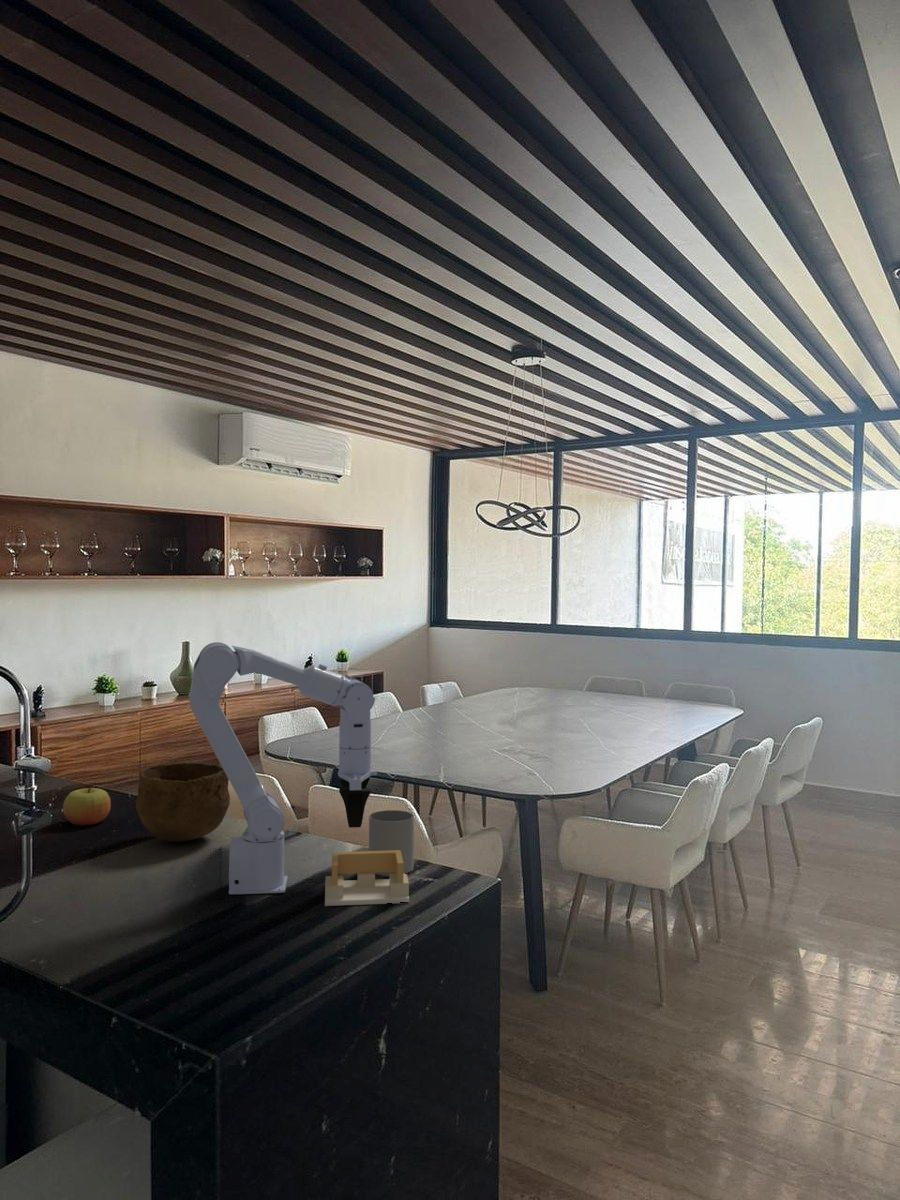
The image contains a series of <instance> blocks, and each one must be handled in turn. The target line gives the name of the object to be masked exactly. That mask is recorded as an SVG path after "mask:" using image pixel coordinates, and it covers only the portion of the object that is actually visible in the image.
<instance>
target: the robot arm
mask: <svg viewBox="0 0 900 1200" xmlns="http://www.w3.org/2000/svg"><path fill="white" fill-rule="evenodd" d="M231 647H232V648H233V649H234V650H233V649H232V648H231ZM231 647H230V646H229V645H227V644H226V643H223V642H217V641H215V642H211V643H209V644H208V643H207V645H205V646H204V647H203V648H202V649H201V650H200V652H199V654H198V655H197V658H196V660H195V662H194V663H193V670H192V678H191V683H190V684H191V685H190V691H189V696H188V697H189V699H188V703H189V707H190V709H191V711H192V714H193V715H194V717H195V719H196V720H197V723H198V725H199V726H200V729H201V730H202V732H203V734H204V736H205V737H206V739H207V742H208V743H209V745H210V747H211V749H212V751H213V752H214V755H215V756H216V758H217V760H218V761H219V764H220V766H222V768H223V769H224V771H225V773H226V775H227V777H228V779H229V782H230V784H231V786H232V788H233V789H234V792H235V793H236V796H237V798H238V800H239V802H240V804H241V806H242V808H243V817H244V819H245V822H246V825H247V827H246V828H245V829H244V832H242V836H237V837H236V836H234V837H231V840H230V843H229V844H230V845H229V854H228V855H229V863H228V864H229V865H228V868H229V869H228V883H229V884H228V895H229V896H230V895H255V894H256V895H258V894H260V895H261V894H282V893H285V892H286V888H287V883H288V878H289V877H288V875H285V831H284V830H283V829H284V827H285V815H284V813H283V811H282V809H281V808H280V805H279V803H278V800H277V799H276V798H275V797H274V796H273V795H272V794H270V793H269V792H267V791H266V790H265V788H264V786H263V784H262V782H261V781H260V778H259V777H258V775H257V773H256V771H255V769H254V767H253V766H252V763H251V762H250V760H249V758H248V756H247V754H246V752H245V750H244V749H243V747H242V744H241V743H240V741H239V738H238V737H237V735H236V734H235V732H234V730H233V728H232V726H231V724H230V722H229V720H228V718H227V716H226V715H225V713H224V711H223V709H222V707H221V705H220V700H221V697H222V695H223V693H224V689H225V687H226V686H227V684H228V683H230V681H231V680H232V678H233V677H234V676H235V674H238V675H239V676H241V677H242V676H246V675H250V674H254V673H255V674H260V675H263V676H267V677H268V678H272V679H276V680H279V681H282V682H285V683H287V684H292V685H295V686H297V688H298V690H299V692H300V694H301V696H304V697H307V698H308V699H309V698H310V699H312V700H315V701H319V702H322V703H324V704H326V705H330V706H332V707H336V706H339V708H340V710H339V711H340V717H339V718H340V720H339V729H338V730H339V737H338V738H339V739H338V740H339V742H338V743H339V744H338V745H339V746H338V752H339V753H338V760H339V762H338V766H339V767H338V771H337V776H338V777H339V783H340V785H341V786H339V788H338V791H339V795H340V796H341V799H342V801H343V804H344V807H345V812H346V813H345V814H346V819H347V825H348V828H361V827H362V824H363V819H364V813H365V807H366V805H367V802H368V799H369V797H370V795H371V793H372V788H371V787H370V788H367V786H368V785H369V784H368V783H369V781H370V778H371V776H377V775H378V770H377V769H375V768H373V769H371V768H372V766H371V765H372V764H371V763H372V762H371V761H372V760H371V759H372V757H371V756H372V755H371V754H372V753H371V751H372V750H371V749H372V748H371V747H372V734H371V733H372V721H371V710H372V709H373V707H374V706H375V701H376V698H375V697H374V693H373V691H372V688H371V687H370V686H369V685H367V684H366V683H364V682H362V681H360V680H359V679H357V678H352V675H349V674H348V673H346V674H345V675H343V674H339V673H337V672H334V671H331V670H329V669H328V666H326V665H324V664H322V663H320V664H318V666H317V665H315V664H312V665H310V666H308V667H305V668H301V667H299V666H295V665H293V664H290V663H288V662H286V661H283V660H281V659H277V658H276V657H275V658H274V657H273V656H269V655H267V654H264V653H262V652H260V651H256V650H255V649H249V648H245V647H241V646H235V645H231Z"/></svg>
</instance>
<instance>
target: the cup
mask: <svg viewBox="0 0 900 1200" xmlns="http://www.w3.org/2000/svg"><path fill="white" fill-rule="evenodd" d="M414 822H415V816H414V814H413V813H412V812H408V811H405V810H398V809H397V810H395V809H393V810H392V809H391V810H388V809H386V810H379V811H375V812H372V813H370V814H369V816H368V851H389V850H401V855H402V859H403V863H404V870H403V874H405V873H407V874H409V873H411V872H412V871H413V870H414V869H415V868H414V865H415V864H414V863H415V862H414V855H415V854H414V853H415V852H414V851H415V850H414V849H415V848H414V846H415V845H414V844H415V843H414V842H415V841H414V840H415V839H414V837H415V834H414V833H415V832H414V831H415V827H414V826H415V825H414V824H415V823H414ZM410 871H411V872H410ZM408 872H409V873H408ZM390 874H396V873H395V872H380V873H375V875H379V876H383V877H386V876H387V877H389V875H390Z"/></svg>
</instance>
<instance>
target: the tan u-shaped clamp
mask: <svg viewBox="0 0 900 1200" xmlns="http://www.w3.org/2000/svg"><path fill="white" fill-rule="evenodd" d="M403 870H404V863H403V859H402V855H401V850H389V851H369V850H363V851H361V850H360V851H359V850H358V851H336V852H335V851H333V852H331V876H332V886H338V876H339V875H344V874H346V875H347V874H348V875H349V874H357V873H380V872H395V873H396V878H397V883H403Z"/></svg>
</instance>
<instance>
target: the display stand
mask: <svg viewBox="0 0 900 1200" xmlns="http://www.w3.org/2000/svg"><path fill="white" fill-rule="evenodd" d="M356 874H357V880H356V879H354V880H344V875H338V886H332V875H326V876H325V883H324V885H325V887H324V907H329V906H330V907H333V906H335V907H336V906H358V905H362V906H363V905H386V904H387V903H392V904H401V903H400V902H409V903H410V891H409V890H410V882H409V878H408V873H407V874H403V883H397V878H396V874H390V875H389V876H388V877H389V878H386V879H385V878H383V879H380V878H379V879H376V874H375V873H356ZM387 905H388V904H387Z"/></svg>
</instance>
